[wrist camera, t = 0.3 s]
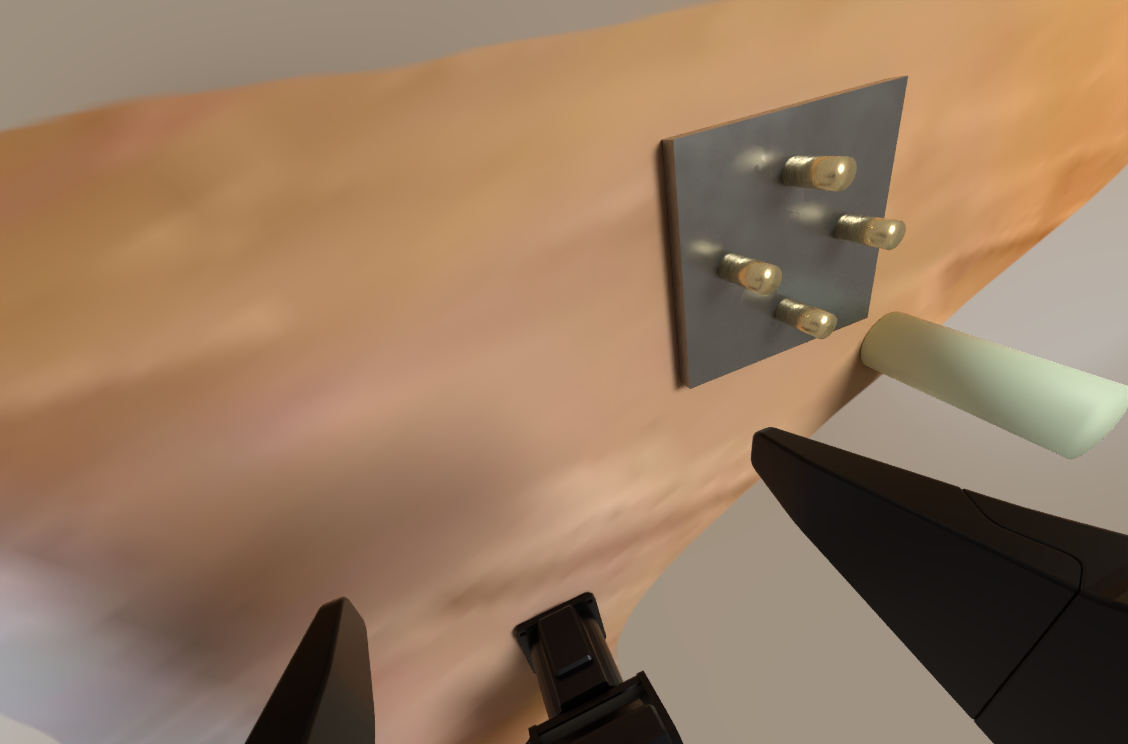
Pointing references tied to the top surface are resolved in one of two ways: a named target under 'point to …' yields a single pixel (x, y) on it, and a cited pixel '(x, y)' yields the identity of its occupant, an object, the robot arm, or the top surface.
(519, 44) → the top surface
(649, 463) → the top surface
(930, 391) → the mint green tapered post
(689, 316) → the chassis plate
